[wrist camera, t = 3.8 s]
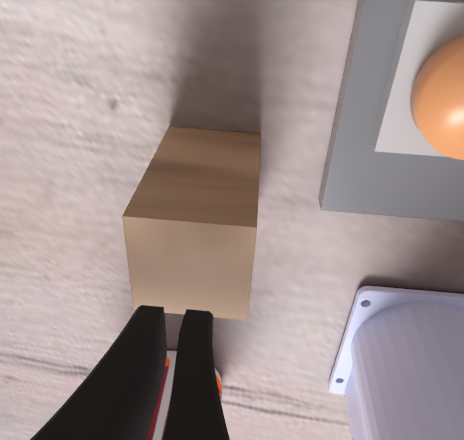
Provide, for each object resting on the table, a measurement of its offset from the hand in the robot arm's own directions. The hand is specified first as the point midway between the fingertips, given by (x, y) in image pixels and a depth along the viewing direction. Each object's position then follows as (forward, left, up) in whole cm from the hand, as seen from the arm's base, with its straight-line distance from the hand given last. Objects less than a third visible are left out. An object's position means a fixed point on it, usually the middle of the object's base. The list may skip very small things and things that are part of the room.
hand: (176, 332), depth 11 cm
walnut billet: (0, 0, -10) cm, 10 cm away
